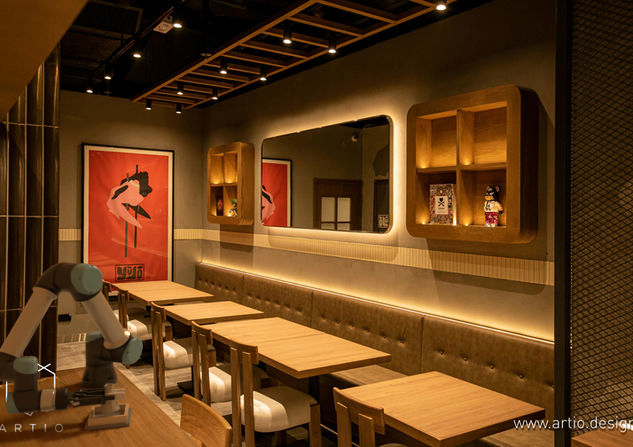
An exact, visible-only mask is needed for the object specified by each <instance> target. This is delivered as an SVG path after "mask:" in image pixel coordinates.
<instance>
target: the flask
mask: <svg viewBox="0 0 633 447" xmlns="http://www.w3.org/2000/svg"><path fill="white" fill-rule="evenodd" d="M114 386H115V384H106V385H105V386H104V387H103V388H105V396H106V393H114V391H113V389H114ZM118 404H119V403H118V400H117V401H105V404H100V405H101V406H100V409H99V412H98V413H100V414H113V413H116V412H118V411H119V409H120V408H119V406H118Z"/></svg>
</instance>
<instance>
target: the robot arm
mask: <svg viewBox="0 0 633 447" xmlns="http://www.w3.org/2000/svg"><path fill="white" fill-rule="evenodd" d="M103 276H104V275H103V273H102V271H101V270H100V268H98V266H96V265H94V264H89V263H84V262H83V263H79V262H64V261H63V262H62V261H61V262H57V263H55V264H53V265H51V266H50V267H49V268H47V269H46V270H45V271H44V272H43V273H42V274H41V275H40V277H39V278H38V279H37V281H36V283H35V284H34V286H33V287H32V292H33V293H32V294H31V296H30V297H29V299H28V301H27V303H26V305H25V306H24V308H23V309H22V311H21V313H20V315H19V317H18V318H17V320H16V321H15V323H14V325H13V327H12V328H11V330H10V331H9V333H8V335H7V337H6V339H5V340H4V342H3V343H2V345H1V347H0V382H7V383H11V384H13V391H11V392H8V394H7V396H6V399H5V400H6V401H5V410H6V413H7V414H11V415H12V414H13V415H14V414H15V415H16V414H17V415H18V414H22V415H24V414H31V413H39V412H41V413H42V412H45V413H48V412H51V411H52V412H53V411H54V410H56V411H64V410H67V409H68V407H69V406H72V408H74V409H75V408H80V407H85V406H87V407H88V406H98V405H101V404H105V401H117V402H118V401H125V400H126V399H125V398H126V388H115V389H114V388H113V391H114V393H106V396H105V387H104V386H105V385H106V384H114V385H115V384H116V383H117V382H118V374H117V371H116V367H115V365H114V363H117V364H121V365H132V364H135V363H137V361H138V360H139V359H140V356H141V355H142V351H143V341H142V339H141V338H139V337H136V336H133V335H132V334H131V331H130V330H129V329H128V328H127V327H126V328H125V327H123V325H122V324H121V322H120V320H119V319H118V317H117V315H116V313H115V312H114V310H113V309H112V307H111V305H110V303H109V302H108V301H107V299H106V297H105V295H104V294H103V292H102V290H103V284H104V280H103V279H104V277H103ZM62 292H63V293H69V294H70V296H71V297H72V299H73V300H74V302H76V303H81V305H82V306H83V308H84V310H85V311H86V313H87V314H88V316H89V318H90V319H91V321H92V322H93V323H94V326H95V327H96V329H97V330H96V331H92V332H90V333H88V334H87V335H86V336H85V342H84V344H85V346H84V348H85V349H84V350H85V351H84V352H85V355H84V356H85V366H84V370H83V373H82V377H81V379H80V380H81V382H80V385H81V387H84V388H77V390H74V391H72V392H70V390H69V388H68V387H61V388H60V387H59V388H57V389H56V388H47V389H38V388H39V384H38V383H39V382H38V381H39V365H38V363H39V362H38V360H39V359H38V358H37V357H36V356H33V355H30V356H29V355H28V356H27V355H25V356H24V355H23V354H24V351H25V350H26V348H27V346H28V345H29V343H30V341H31V339H32V337H33V336H34V334H35V332H36V331H37V329H38V327H39V324H40V323H41V322H42V320H43V318H44V317H45V314H46V313H47V311H48V309H49V307H50V305H51V304H52V303H53V301H54V300H56V299H58V297H59V296H60V294H61V293H62ZM22 355H23V356H22Z"/></svg>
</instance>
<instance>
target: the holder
mask: <svg viewBox="0 0 633 447" xmlns="http://www.w3.org/2000/svg"><path fill="white" fill-rule="evenodd" d="M129 405H130V404H129V402H125V403H123V402H122V403H118V406H119V408H120V409H119V411H118V412H116V413H113V414H100V413H98V412H99V409H100V406H101V404H98V405H91V410H90V411H89V414H88V417H87V420H86V421H85V425H84V431H91V430H101V429H102V430H104V429H112V428H121V427H122V428H123V427H124V428H125V427H130V426H131V419H132V418H131V417H132V411H133V410H132V409H133V408H132V407H130V406H129Z"/></svg>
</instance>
